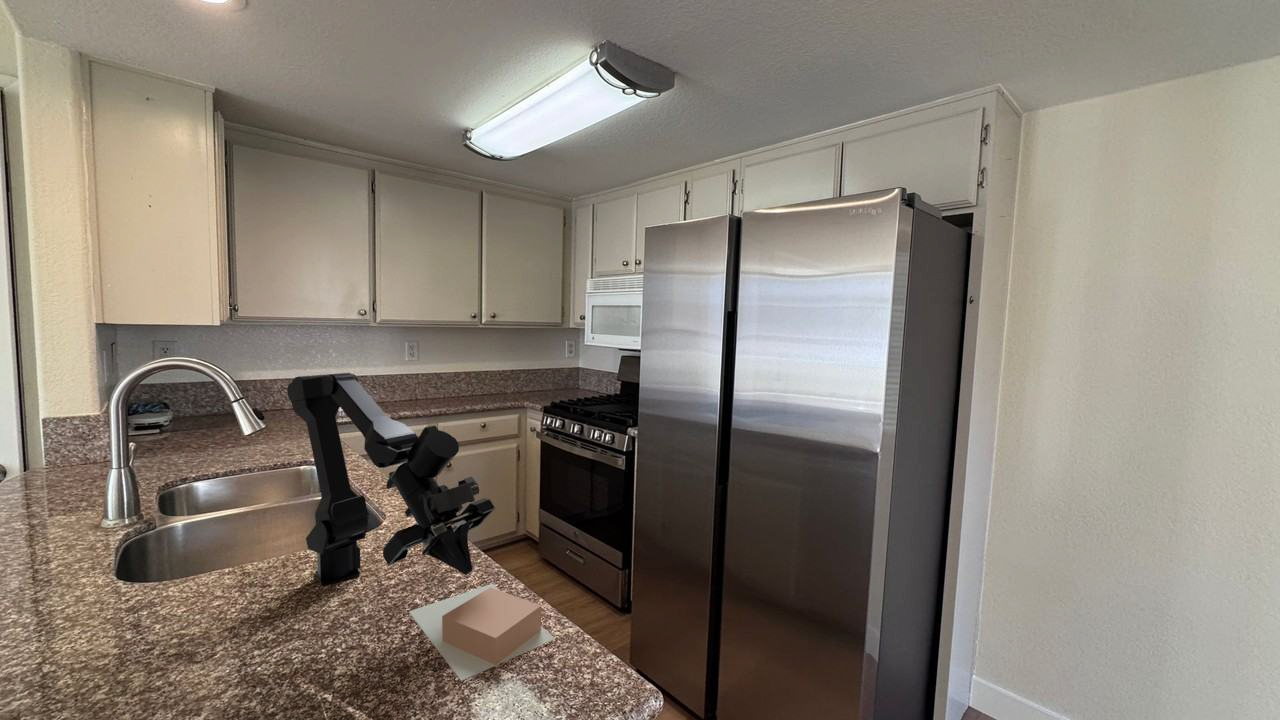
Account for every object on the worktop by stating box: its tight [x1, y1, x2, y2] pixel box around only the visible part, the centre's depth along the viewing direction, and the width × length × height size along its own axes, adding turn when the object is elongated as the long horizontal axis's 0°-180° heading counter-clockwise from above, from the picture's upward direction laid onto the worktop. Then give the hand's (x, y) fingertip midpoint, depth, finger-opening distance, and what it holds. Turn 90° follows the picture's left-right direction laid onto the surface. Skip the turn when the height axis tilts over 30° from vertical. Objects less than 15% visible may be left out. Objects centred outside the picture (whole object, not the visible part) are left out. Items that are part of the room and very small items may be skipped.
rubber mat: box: [408, 583, 556, 682], centre depth 84 cm, size 15×22×1 cm
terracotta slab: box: [442, 588, 542, 666], centre depth 81 cm, size 4×10×11 cm
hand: (469, 572), depth 83 cm, fingers closed
